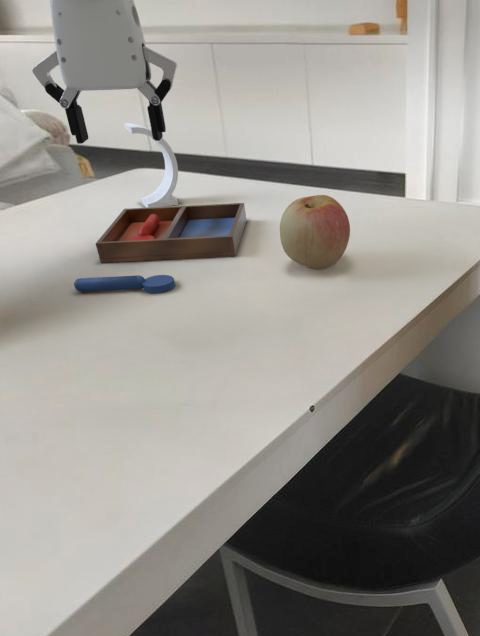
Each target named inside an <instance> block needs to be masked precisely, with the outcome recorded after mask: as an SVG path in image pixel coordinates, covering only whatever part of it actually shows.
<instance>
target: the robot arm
mask: <svg viewBox="0 0 480 636" xmlns="http://www.w3.org/2000/svg"><path fill="white" fill-rule="evenodd" d="M49 5H50V16H51V17H50V18H51V25H52V32H53V39H54V43H55V44H54V45H55V51H53V52H52V53H50V54H49V55H48V56H47V57H45V58H44V59H43V60H41V61H39V62H38V63H37V64H35V65H34V66H33V67H32V69H31V70H32V74H33V75H34V77H35V78H36V79H37V80H38V82H39V83H40V84H41V86H42V87H43V88H44V90H45V93H47V94H48V95H49V96H50V97H51V98H52V99H54V100H55V101H56V102H57V103H58V104H59V105H60V107H61V108H62V109H64V111H65V115H66V119H67V122H68V123H67V124H68V127H69V131H70V134H71V136H75V140H76V143H77V144H78V145H80V144H82V145H83V144H84V143H85V142H86V141H88V140H89V133H88V130H87V126H86V121H85V117H84V112H83V109H82V106H81V105H80V104H78V98H79V97H80V95H81V93H82V92H83V91H85V92H86V91H116V90H118V91H119V90H135V89H137V90H138V91H139V92H140V93H141V94H142V95H143V96H144V97H145V98H146V99H147V100H148V106H147V108H146V109H147V114H148V119H149V125H150V130H151V131H152V136H153V139H152V140H153V141H154V140H155V141H160V139H161V138H164V135H163V133H166V132H167V131H166V130H167V129H166V122H165V121H166V120H165V117H164V116H165V115H164V109H163V104H162V103H163V101H164V100H165V98H166V96H167V95H168V94H169V92H170V91H171V89H172V87H173V83H174V81H175V77H176V73H177V70H178V64H177V62H176V61H174V60H172V59H171V58H168V57H166V56H165V55H162V54H161V53H159V52H157V51H155V50H153V49H151V48H149V47H147V45H146V40H145V37H144V33H143V29H142V23H141V20H140V17H139V13H138V11H137V7H136V4H135V0H49ZM151 64H152V65H154V66H156V67H157V68H160V69H161V70H162V72H163V74H162V78H161V81H160V83H159V84H158V85H157V86H156V85H154V83H153V82H151V79H152V68H151ZM58 66H59V70H60V75H61V77H62V80H63V82H64V85H65V86H66V87H65V88H62V87H61V86H60V85H59V84H57V82H55V81H54V79H53V77H52V75H51V72H52V71H53V70H55V69H56V68H57V67H58ZM155 141H154V142H155Z"/></svg>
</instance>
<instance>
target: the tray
mask: <svg viewBox="0 0 480 636" xmlns="http://www.w3.org/2000/svg"><path fill="white" fill-rule="evenodd" d="M246 213H247V212H246V205H245V202H235V203H234V202H231V203H213V204H195V205H190V204H189V205H173V206H167V207H150V208H146V207H134V208H131V207H129V208H124V209H122V211H121V212H120V213H119V214H118V216H116V218H115V219H114V220H113V222H112V223H111V224H110V225H109V226H108V228H107V229H106V230H105V231H104V232H103V234H102V235H101V236H100V237H99V239H98V240H96V242H95V247H96V251H97V254H98V258H99V262H100V264H107V263H109V264H111V263H126V262H128V263H129V262H149V261H165V260H167V261H168V260H182V259H183V260H186V259H203V258H204V259H205V258H224V257H225V258H227V257H236V255H237V252H238V249H239V246H240V243H241V240H242V236H243V233H244V230H245V227H246V224H247V214H246ZM151 214H156V215H157V216H158V217H159V219H160V222H159V224H158V226H157V227H156V229H155V230H154V232H153V233H152V235H151V236H153V237H154V238H155V239H150V240H130V241H126V240H127V239H129V238H131V237H134V236H138V232H139V230H140V229H141V227H142V226H143V224H144V223H145V222H146V220H147V219H148V217H149V216H150V215H151Z"/></svg>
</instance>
